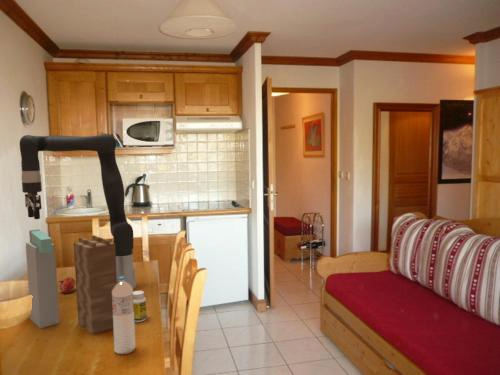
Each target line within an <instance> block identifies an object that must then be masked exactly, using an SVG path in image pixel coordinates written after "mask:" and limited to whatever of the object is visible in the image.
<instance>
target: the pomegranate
mask: <svg viewBox="0 0 500 375" xmlns="http://www.w3.org/2000/svg"><path fill="white" fill-rule="evenodd" d="M58 283H60V284H59V289H60V291H61V292H63V293H64V294H70V293H71V292H72V291H73V289H74V290H76V279H75V278H74V277H71V276H70V277H65V278H64V279H62V280H59V282H58Z"/></svg>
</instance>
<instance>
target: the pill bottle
mask: <svg viewBox="0 0 500 375" xmlns="http://www.w3.org/2000/svg"><path fill="white" fill-rule="evenodd" d="M133 309H134V323H141V322H145V321H146V320H147V317H148V315H147V298H146V297H145V292H144V291H143V290H135V291H134V290H133Z"/></svg>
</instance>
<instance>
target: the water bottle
mask: <svg viewBox="0 0 500 375" xmlns="http://www.w3.org/2000/svg"><path fill="white" fill-rule="evenodd" d="M124 280H125V277H124V276H121V277H119V282H118V283H117V284H116V285H115V286H114V287H113V289H112V291H111V294H112V306H113V329H112V330H113V349H114V353H116V355H127V354H130V353H132V352H134V351H135V349H136V330H135V329H136V328H135V326H136V325H135V322H134V309H133V292H134V289H133V288H132V286H131V285H130V284H129V283H127V282H126V281H124Z"/></svg>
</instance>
